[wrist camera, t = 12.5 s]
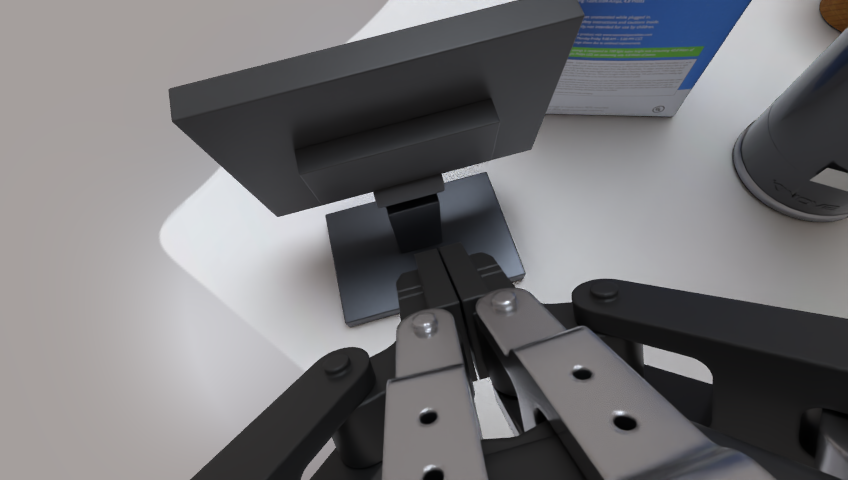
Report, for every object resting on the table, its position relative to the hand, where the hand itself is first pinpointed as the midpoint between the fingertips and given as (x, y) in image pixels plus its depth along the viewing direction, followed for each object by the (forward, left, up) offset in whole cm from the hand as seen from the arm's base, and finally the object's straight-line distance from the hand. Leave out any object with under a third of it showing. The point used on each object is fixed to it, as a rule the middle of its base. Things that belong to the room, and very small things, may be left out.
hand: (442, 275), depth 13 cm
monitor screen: (-7, -8, -11) cm, 15 cm away
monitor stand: (-6, -6, -17) cm, 19 cm away
